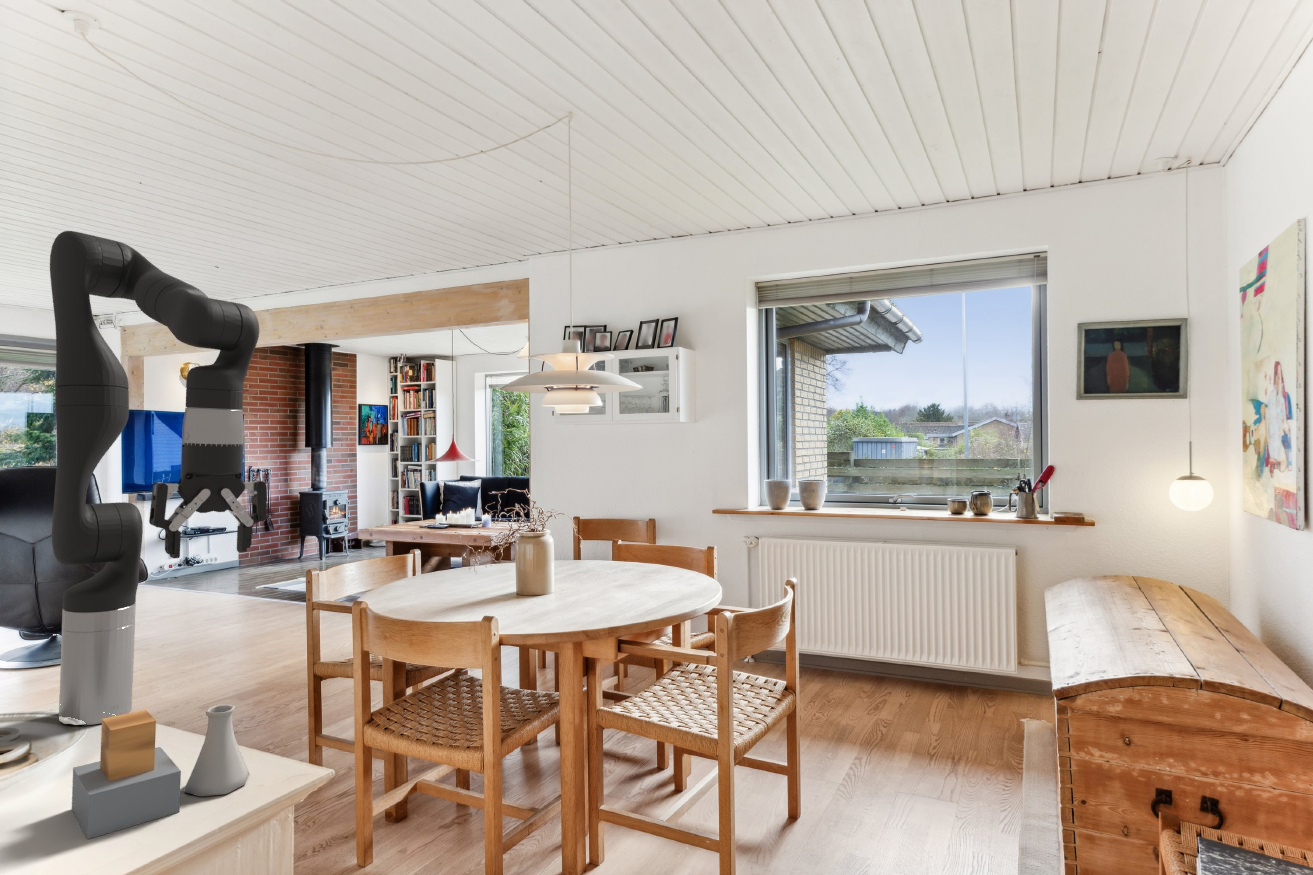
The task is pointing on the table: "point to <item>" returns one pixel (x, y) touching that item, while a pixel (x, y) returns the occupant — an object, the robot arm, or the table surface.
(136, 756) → the orange block
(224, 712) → the flask
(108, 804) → the pedestal
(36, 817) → the table surface
